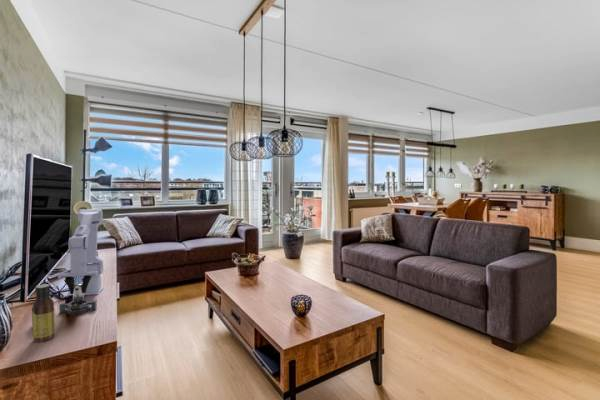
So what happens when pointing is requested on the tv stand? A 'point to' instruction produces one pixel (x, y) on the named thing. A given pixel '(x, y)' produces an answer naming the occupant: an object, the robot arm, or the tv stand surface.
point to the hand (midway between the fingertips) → (78, 293)
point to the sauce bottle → (43, 314)
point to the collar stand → (78, 307)
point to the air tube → (78, 292)
